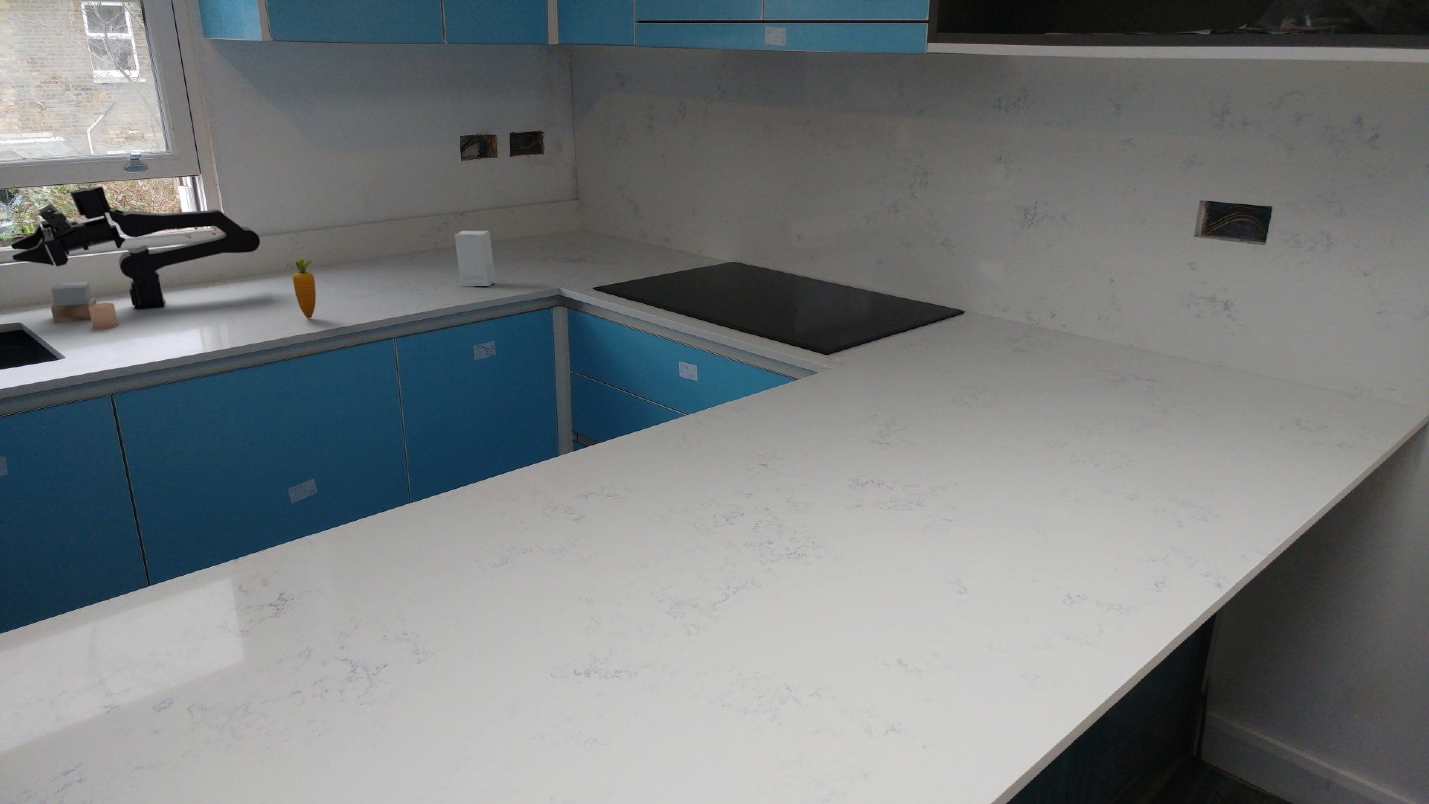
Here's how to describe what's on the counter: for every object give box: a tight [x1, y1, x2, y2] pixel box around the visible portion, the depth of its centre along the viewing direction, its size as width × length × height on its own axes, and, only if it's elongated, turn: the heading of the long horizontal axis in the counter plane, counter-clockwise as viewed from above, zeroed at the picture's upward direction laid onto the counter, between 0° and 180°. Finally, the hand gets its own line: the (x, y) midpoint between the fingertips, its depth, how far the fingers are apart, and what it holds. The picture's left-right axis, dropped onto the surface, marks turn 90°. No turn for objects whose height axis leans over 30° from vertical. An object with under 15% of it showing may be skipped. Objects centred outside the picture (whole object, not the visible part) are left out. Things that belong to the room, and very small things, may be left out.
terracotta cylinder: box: [88, 302, 119, 330], centre depth 218 cm, size 5×5×5 cm
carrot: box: [292, 257, 317, 320], centre depth 224 cm, size 5×5×15 cm
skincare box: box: [454, 230, 496, 287], centre depth 260 cm, size 8×6×15 cm
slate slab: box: [51, 281, 93, 306], centre depth 224 cm, size 6×6×4 cm
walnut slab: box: [50, 297, 98, 324], centre depth 225 cm, size 8×8×4 cm
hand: (12, 252), depth 218 cm, fingers open, 9 cm apart
